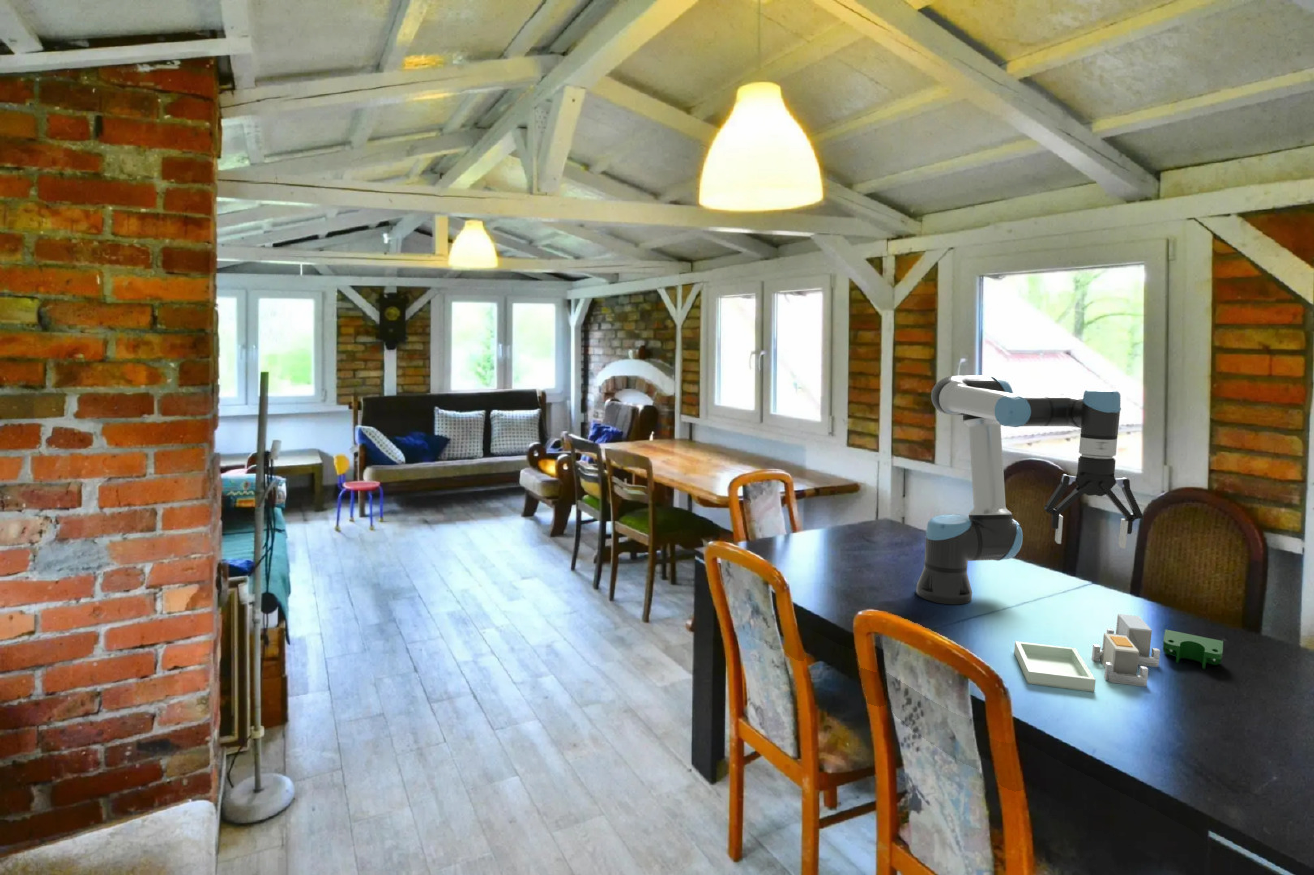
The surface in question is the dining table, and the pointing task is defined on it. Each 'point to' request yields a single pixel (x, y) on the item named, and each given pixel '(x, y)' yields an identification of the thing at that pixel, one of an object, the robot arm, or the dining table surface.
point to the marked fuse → (1120, 654)
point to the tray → (1054, 666)
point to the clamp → (1193, 647)
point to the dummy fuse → (1135, 632)
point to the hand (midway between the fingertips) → (1089, 544)
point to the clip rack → (1128, 678)
